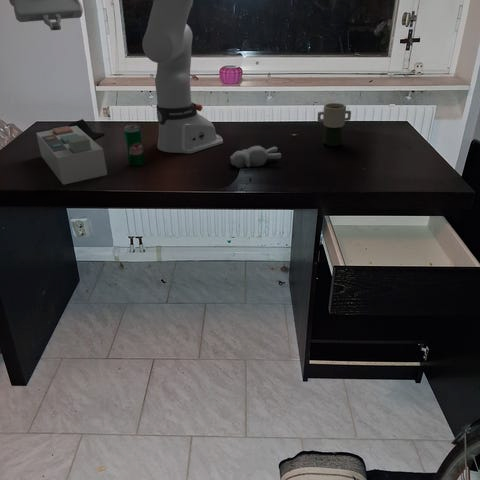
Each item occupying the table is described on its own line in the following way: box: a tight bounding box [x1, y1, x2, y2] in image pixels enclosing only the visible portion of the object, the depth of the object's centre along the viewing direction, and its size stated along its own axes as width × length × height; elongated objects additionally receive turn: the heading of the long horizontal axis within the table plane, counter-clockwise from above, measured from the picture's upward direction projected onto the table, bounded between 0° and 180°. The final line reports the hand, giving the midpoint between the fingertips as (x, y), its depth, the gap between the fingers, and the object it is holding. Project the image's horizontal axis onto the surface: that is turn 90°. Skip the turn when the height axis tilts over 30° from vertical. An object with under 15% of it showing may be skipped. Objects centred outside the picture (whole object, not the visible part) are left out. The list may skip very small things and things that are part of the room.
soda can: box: [123, 124, 146, 168], centre depth 151 cm, size 5×5×12 cm
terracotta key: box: [52, 125, 73, 136], centre depth 159 cm, size 5×5×4 cm
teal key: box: [60, 134, 79, 144], centre depth 152 cm, size 5×5×4 cm
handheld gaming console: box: [63, 118, 105, 142], centre depth 176 cm, size 12×7×10 cm
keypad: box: [35, 126, 108, 185], centre depth 152 cm, size 13×28×8 cm, turn 31°
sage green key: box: [67, 135, 91, 154], centre depth 143 cm, size 5×5×4 cm
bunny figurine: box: [229, 145, 282, 168], centre depth 151 cm, size 10×5×15 cm
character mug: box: [317, 102, 352, 147], centre depth 162 cm, size 11×7×13 cm, turn 94°
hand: (56, 28), depth 153 cm, fingers closed
